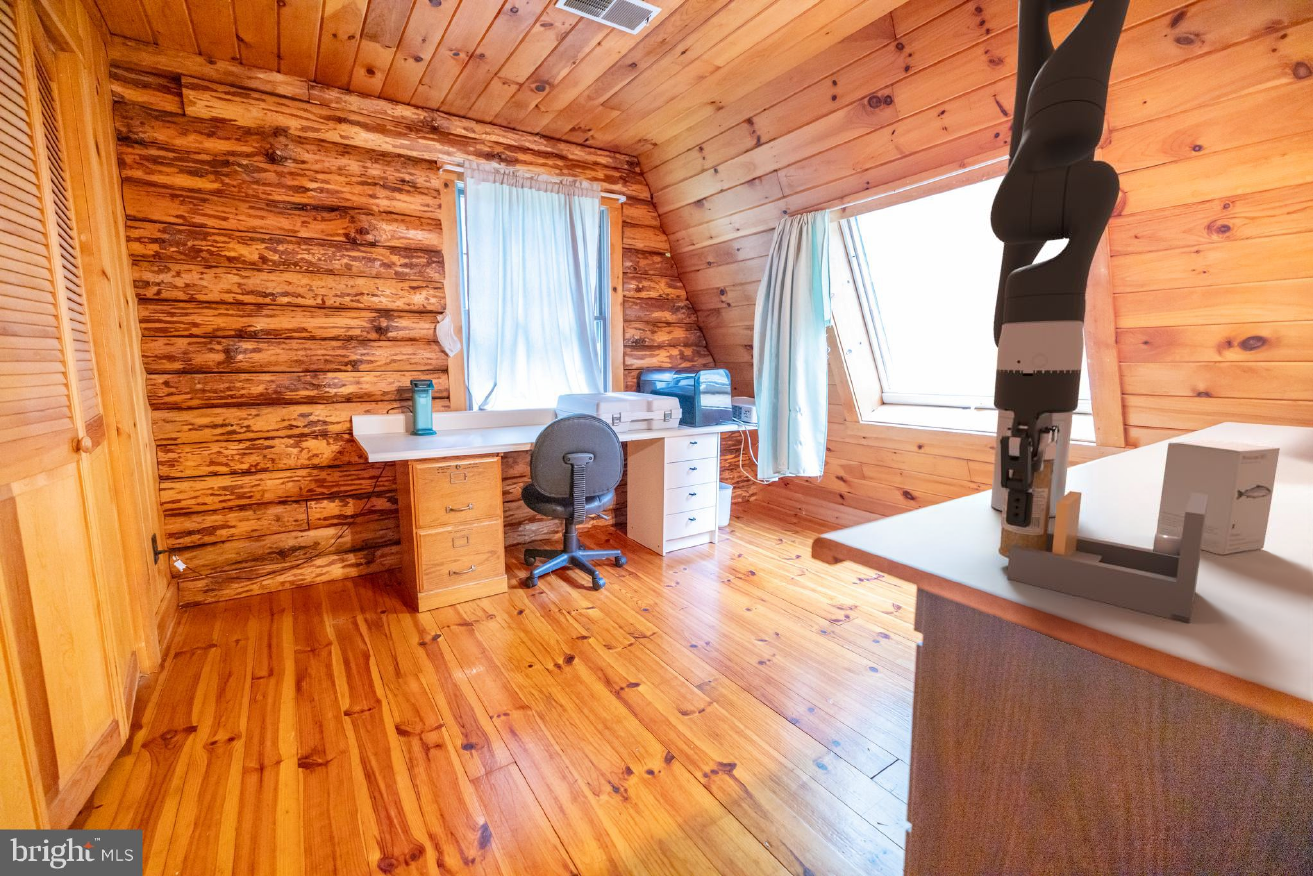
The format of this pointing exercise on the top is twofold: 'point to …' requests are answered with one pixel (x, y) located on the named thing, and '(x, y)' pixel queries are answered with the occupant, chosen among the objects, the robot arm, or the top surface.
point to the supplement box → (1220, 492)
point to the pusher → (1069, 528)
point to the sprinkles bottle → (1039, 525)
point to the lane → (1124, 568)
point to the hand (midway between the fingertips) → (1024, 519)
